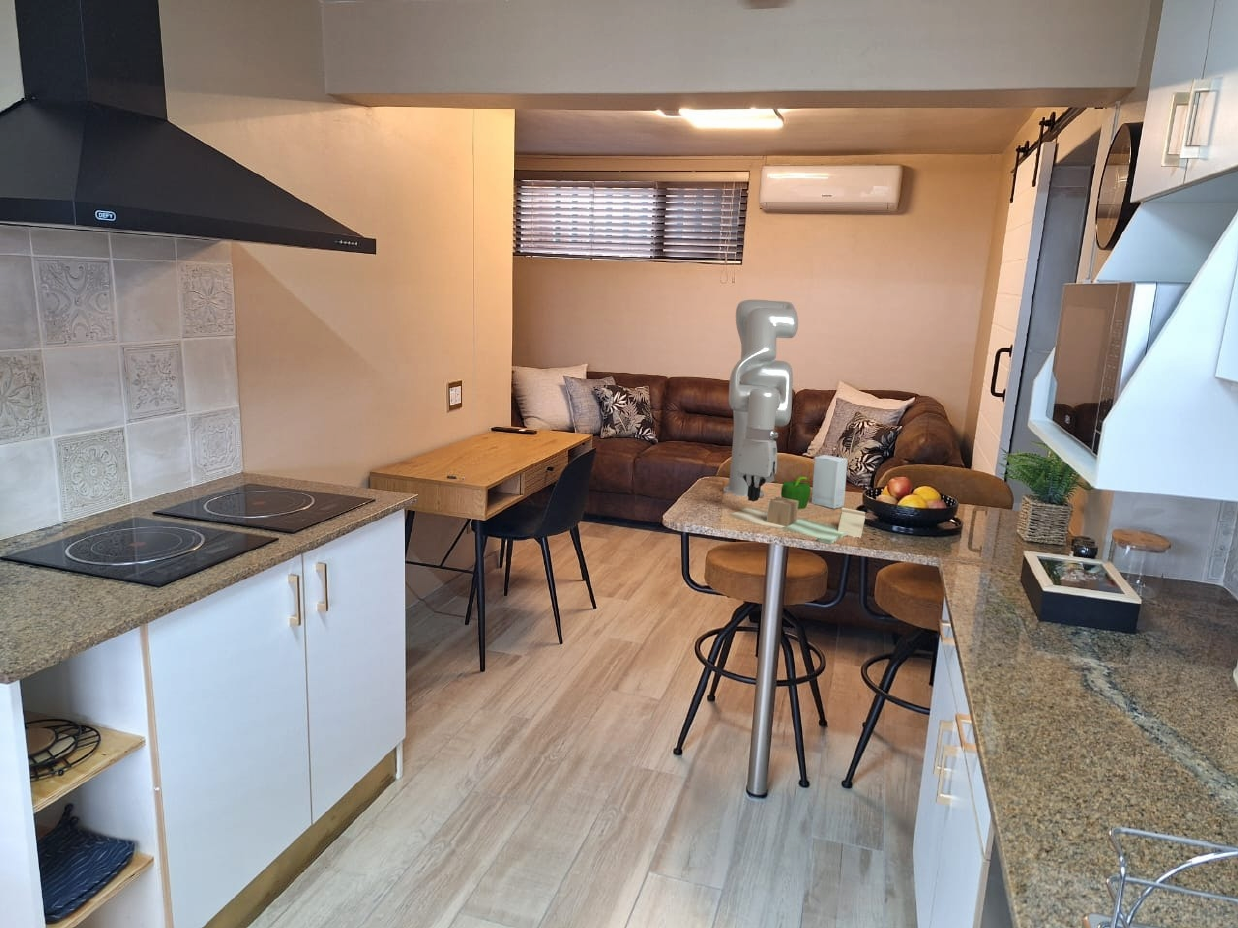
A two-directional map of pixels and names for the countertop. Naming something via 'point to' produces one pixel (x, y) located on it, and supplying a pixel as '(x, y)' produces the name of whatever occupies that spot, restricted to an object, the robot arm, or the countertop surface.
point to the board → (792, 525)
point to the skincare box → (829, 481)
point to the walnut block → (782, 511)
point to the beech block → (851, 522)
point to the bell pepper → (797, 492)
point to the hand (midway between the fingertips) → (753, 500)
